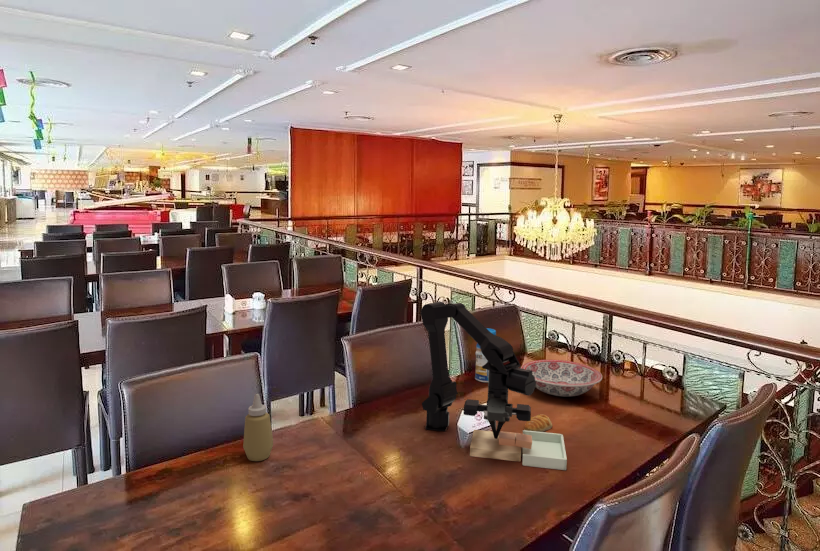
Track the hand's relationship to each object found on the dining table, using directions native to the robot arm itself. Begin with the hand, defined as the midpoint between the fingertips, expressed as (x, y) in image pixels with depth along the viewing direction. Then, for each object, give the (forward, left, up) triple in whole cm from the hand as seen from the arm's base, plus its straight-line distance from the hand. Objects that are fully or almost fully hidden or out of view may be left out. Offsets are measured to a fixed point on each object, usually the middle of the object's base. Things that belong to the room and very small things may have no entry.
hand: (495, 438), depth 158 cm
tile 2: (+8, 0, -1) cm, 8 cm away
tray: (+13, 0, -3) cm, 14 cm away
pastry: (+12, +18, -4) cm, 22 cm away
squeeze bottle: (-64, -20, -4) cm, 67 cm away
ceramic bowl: (+21, +52, -4) cm, 56 cm away
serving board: (0, 0, -3) cm, 3 cm away
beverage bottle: (-7, +59, -4) cm, 60 cm away
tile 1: (+3, 0, -1) cm, 3 cm away
